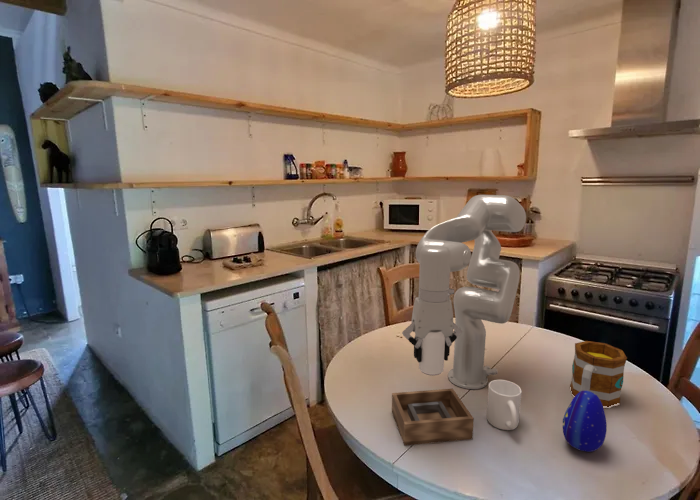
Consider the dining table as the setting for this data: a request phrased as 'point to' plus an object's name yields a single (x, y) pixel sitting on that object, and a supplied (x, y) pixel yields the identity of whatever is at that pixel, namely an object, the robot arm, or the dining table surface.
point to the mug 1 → (503, 404)
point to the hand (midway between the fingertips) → (431, 358)
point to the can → (432, 353)
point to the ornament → (585, 422)
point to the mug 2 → (598, 371)
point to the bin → (431, 416)
